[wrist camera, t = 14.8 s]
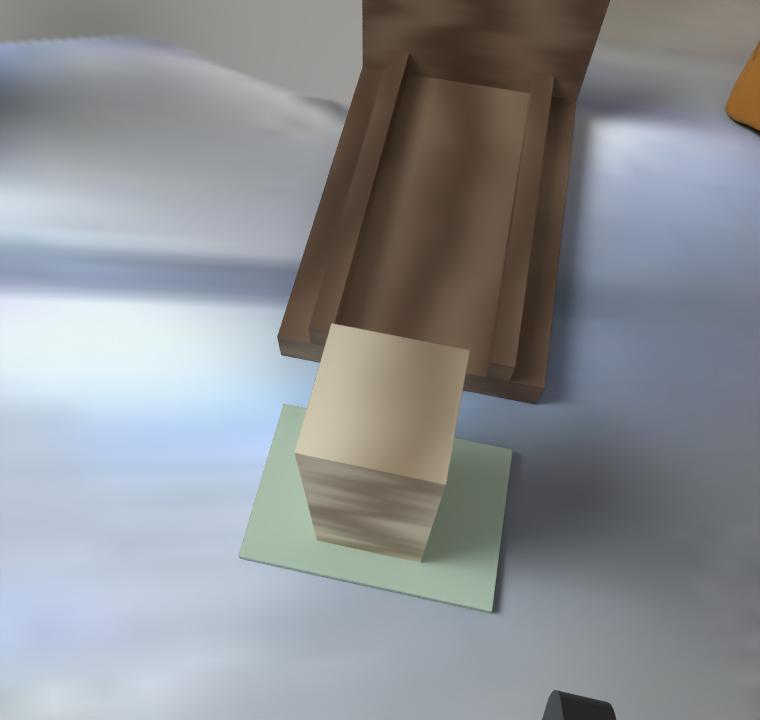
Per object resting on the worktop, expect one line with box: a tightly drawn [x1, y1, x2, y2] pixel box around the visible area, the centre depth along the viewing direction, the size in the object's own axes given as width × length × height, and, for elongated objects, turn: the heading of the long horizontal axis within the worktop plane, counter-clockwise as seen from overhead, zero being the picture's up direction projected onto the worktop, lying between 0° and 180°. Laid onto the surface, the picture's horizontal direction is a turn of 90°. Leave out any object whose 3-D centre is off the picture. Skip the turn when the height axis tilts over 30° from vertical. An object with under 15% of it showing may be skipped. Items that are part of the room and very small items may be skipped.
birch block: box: [295, 323, 470, 563], centre depth 29 cm, size 5×5×12 cm
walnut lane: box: [277, 0, 610, 404], centre depth 39 cm, size 14×22×10 cm, turn 168°
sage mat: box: [239, 404, 513, 613], centre depth 35 cm, size 12×8×1 cm, turn 78°
